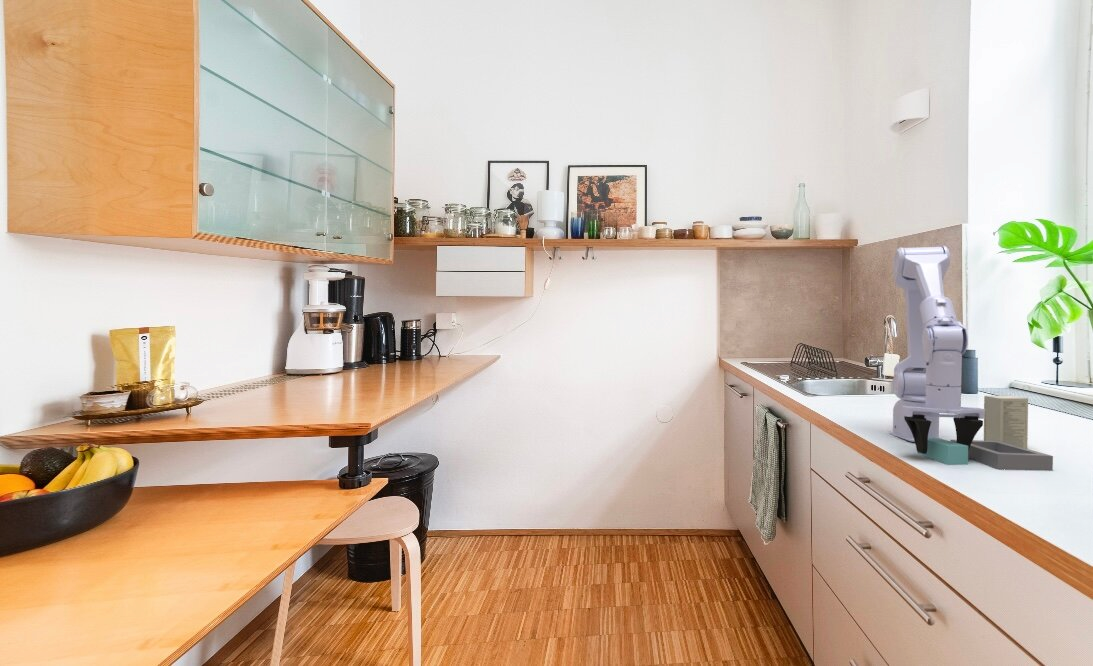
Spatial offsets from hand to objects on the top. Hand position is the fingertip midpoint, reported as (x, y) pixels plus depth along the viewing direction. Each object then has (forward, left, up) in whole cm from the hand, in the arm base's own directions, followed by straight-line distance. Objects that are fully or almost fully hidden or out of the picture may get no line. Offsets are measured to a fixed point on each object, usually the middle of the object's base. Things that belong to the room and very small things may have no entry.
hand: (941, 453), depth 108 cm
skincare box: (-10, +18, -2) cm, 21 cm away
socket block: (0, +10, -1) cm, 11 cm away
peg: (0, 0, -2) cm, 2 cm away
